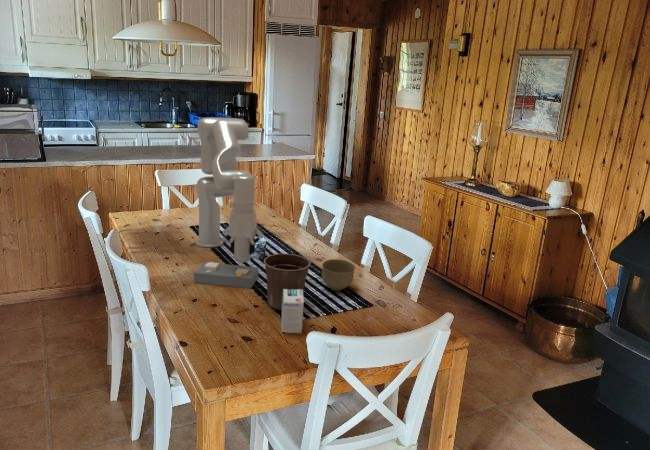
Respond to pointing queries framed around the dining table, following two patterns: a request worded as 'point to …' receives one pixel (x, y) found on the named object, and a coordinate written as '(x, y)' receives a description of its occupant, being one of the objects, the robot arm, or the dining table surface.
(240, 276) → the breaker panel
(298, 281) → the plant pot
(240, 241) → the beverage can
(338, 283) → the bowl
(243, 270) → the block
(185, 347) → the dining table surface
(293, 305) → the light bulb box
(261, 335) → the dining table surface
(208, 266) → the block
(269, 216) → the dining table surface
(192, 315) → the dining table surface
